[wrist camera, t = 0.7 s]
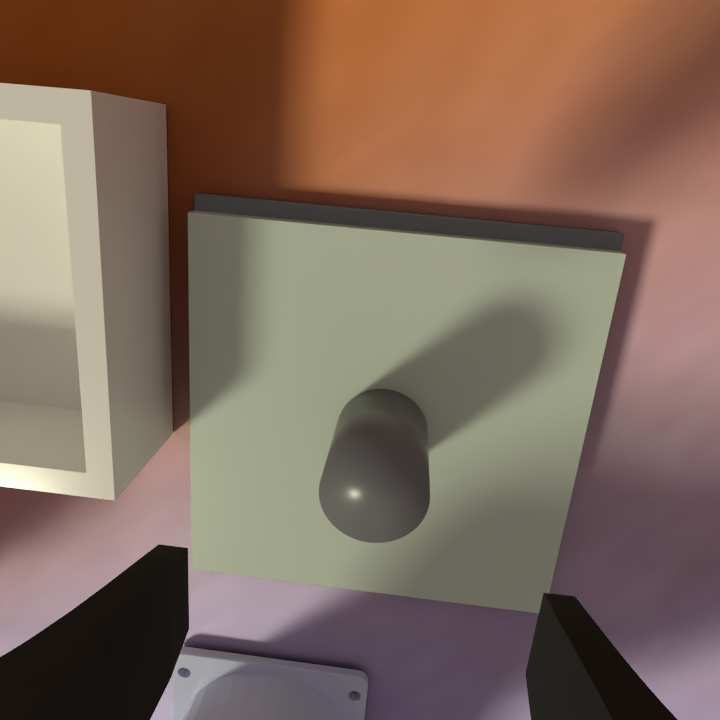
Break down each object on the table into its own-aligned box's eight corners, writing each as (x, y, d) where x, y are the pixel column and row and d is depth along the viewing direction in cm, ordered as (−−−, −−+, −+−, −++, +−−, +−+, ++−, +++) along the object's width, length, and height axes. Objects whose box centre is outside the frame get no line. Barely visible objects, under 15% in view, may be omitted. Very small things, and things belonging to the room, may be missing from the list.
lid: (541, 602, 22) (571, 710, 18) (197, 558, 23) (146, 652, 19) (620, 250, 18) (683, 281, 14) (194, 210, 19) (128, 228, 15)
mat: (536, 605, 23) (539, 613, 23) (200, 563, 24) (197, 569, 23) (619, 232, 18) (623, 234, 18) (198, 192, 19) (194, 193, 19)
